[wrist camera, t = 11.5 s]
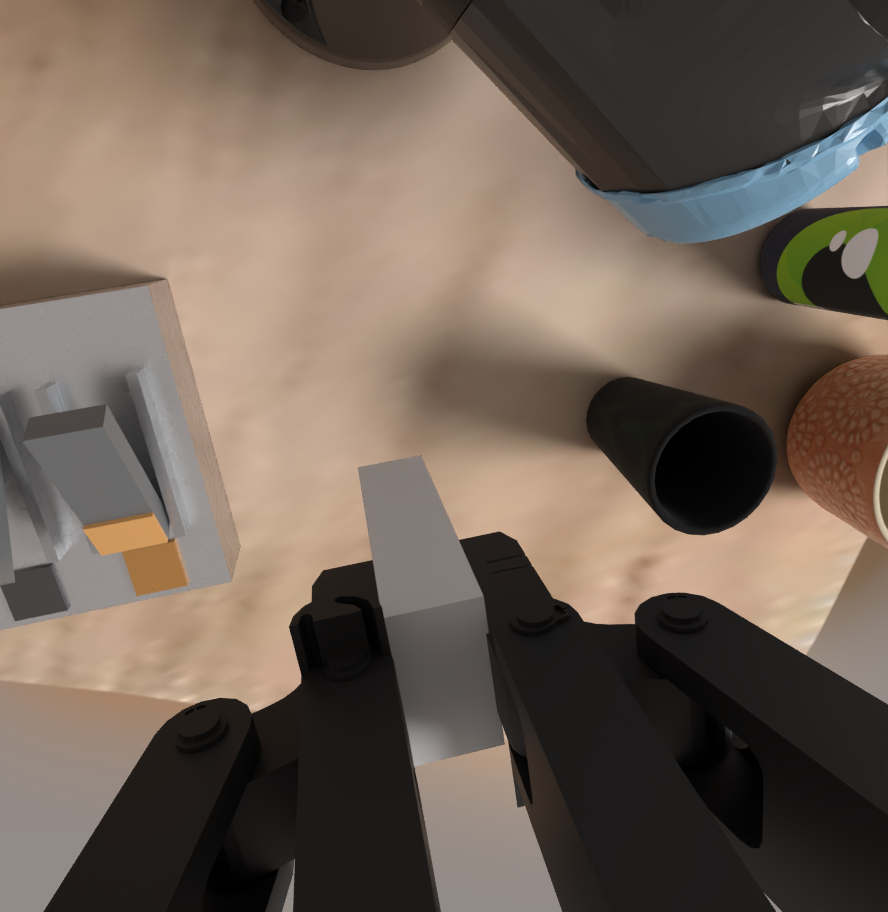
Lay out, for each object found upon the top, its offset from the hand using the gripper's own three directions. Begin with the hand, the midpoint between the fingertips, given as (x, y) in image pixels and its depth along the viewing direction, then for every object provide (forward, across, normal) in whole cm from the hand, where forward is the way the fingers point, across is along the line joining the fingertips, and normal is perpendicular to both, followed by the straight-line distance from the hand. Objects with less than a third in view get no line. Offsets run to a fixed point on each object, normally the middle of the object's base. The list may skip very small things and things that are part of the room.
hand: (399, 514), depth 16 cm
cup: (+30, +18, -9) cm, 36 cm away
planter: (+30, +35, -13) cm, 48 cm away
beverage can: (+30, +31, 0) cm, 43 cm away
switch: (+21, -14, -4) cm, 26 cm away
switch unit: (+29, -21, -4) cm, 36 cm away
